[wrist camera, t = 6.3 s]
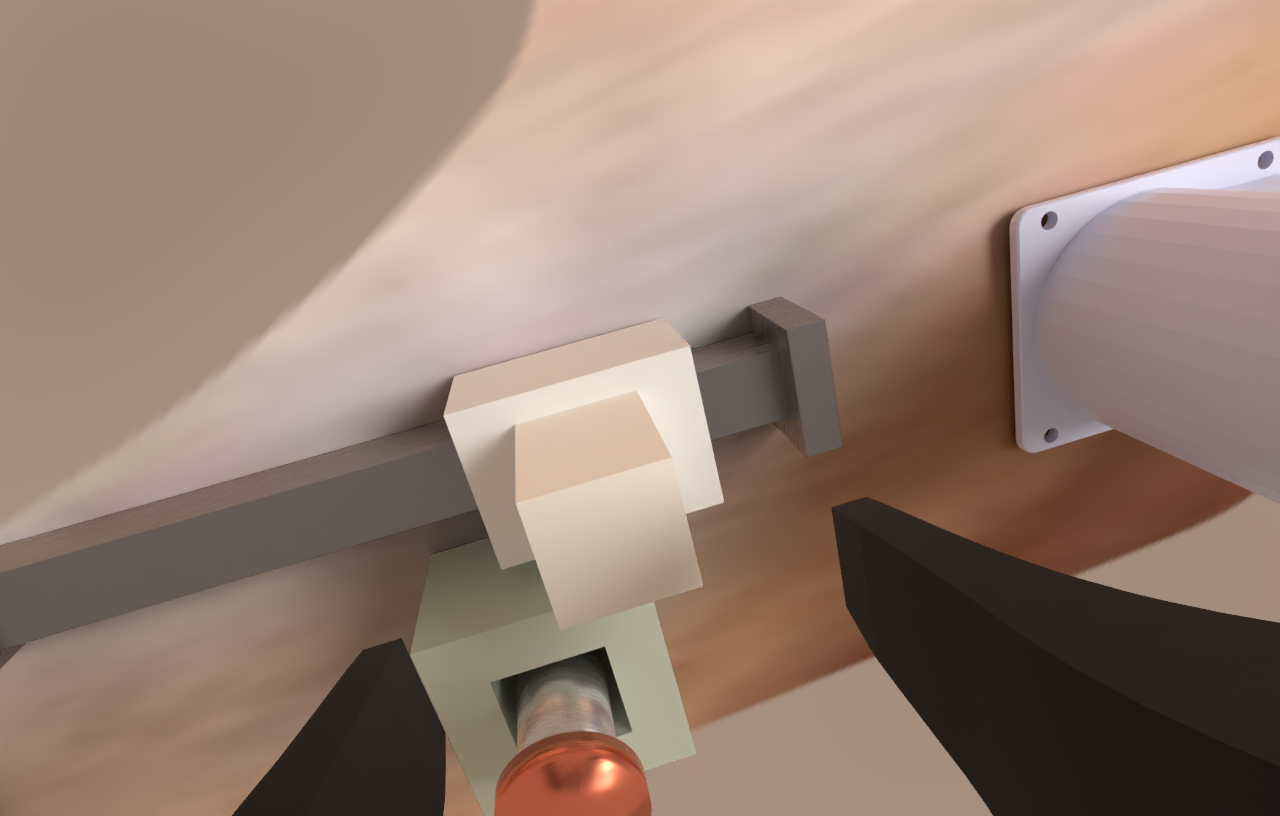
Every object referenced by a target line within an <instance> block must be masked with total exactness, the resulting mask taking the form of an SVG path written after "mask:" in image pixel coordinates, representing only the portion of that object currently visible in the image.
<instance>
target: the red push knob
mask: <svg viewBox="0 0 1280 816" xmlns="http://www.w3.org/2000/svg"><path fill="white" fill-rule="evenodd" d="M494 816H651V802H650V796H649V792H648V787H647V782H646V778H645V773H644V768H643V765H642V763H641V760H640V759H639V757H638V756H637V754H636V753H635V752H634V751H633V750H632V749H631V748H630V747H629V746H628V745H627V744H625V743H624V742H622V741H620V740H619V739H617V738H616V734H615V728H614V723H613V717H612V711H611V705H610V700H609V694H608V688H607V683H606V677H605V671H604V666H603V660H602V654H601V648H598V649H595V650H592V651H589V652H586V653H582V654H579V655H576V656H573V657H570V658H567V659H563V660H560V661H557V662H554V663H551V664H547V665H544V666H541V667H538V668H535V669H532V670H528V671H525V672H522V673H519V674H517V755H516V756H515V757H514V758H513V759H512V760H511V761H510V762H509V763H508V764H507V766H506V767H505V768H504V770H503V772H502V773H501V775H500V777H499V779H498V782H497V785H496V790H495V808H494Z"/></svg>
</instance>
